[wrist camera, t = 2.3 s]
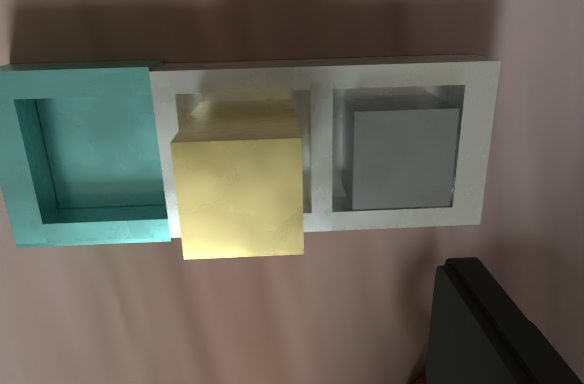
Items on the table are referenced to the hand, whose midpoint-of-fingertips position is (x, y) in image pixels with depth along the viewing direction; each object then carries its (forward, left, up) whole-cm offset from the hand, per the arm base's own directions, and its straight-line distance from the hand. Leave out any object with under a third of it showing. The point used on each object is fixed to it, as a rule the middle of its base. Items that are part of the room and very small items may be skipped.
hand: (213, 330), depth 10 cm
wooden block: (0, 0, -15) cm, 15 cm away
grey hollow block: (-6, -3, -15) cm, 17 cm away
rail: (0, 0, -17) cm, 17 cm away
